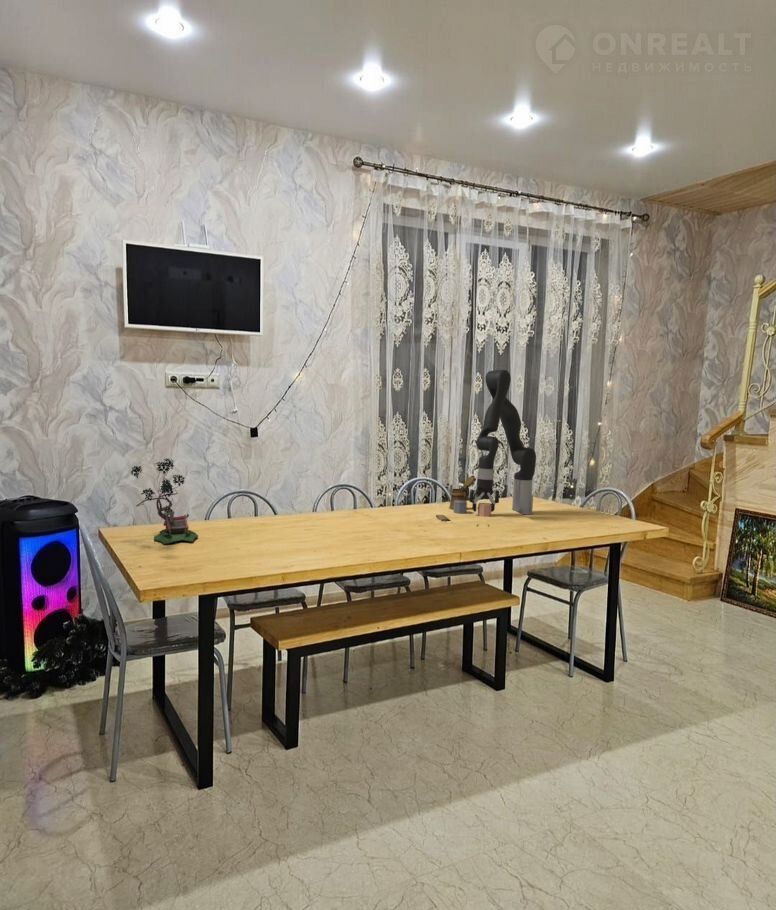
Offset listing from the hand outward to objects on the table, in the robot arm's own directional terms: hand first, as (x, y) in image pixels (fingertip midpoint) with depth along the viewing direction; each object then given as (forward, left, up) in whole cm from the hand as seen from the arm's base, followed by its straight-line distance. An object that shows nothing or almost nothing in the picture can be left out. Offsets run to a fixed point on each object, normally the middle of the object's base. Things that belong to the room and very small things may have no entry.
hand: (483, 511), depth 338 cm
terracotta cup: (-1, 0, -3) cm, 3 cm away
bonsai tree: (+140, +43, -4) cm, 147 cm away
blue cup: (+9, -7, -3) cm, 12 cm away
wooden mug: (+5, -18, -4) cm, 19 cm away
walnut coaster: (+17, +2, -3) cm, 18 cm away
